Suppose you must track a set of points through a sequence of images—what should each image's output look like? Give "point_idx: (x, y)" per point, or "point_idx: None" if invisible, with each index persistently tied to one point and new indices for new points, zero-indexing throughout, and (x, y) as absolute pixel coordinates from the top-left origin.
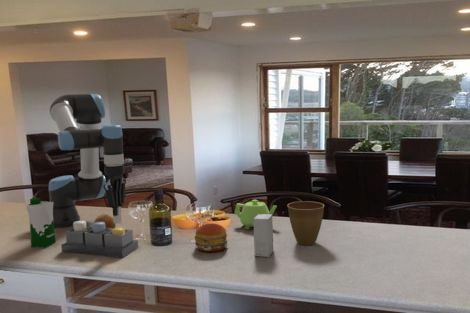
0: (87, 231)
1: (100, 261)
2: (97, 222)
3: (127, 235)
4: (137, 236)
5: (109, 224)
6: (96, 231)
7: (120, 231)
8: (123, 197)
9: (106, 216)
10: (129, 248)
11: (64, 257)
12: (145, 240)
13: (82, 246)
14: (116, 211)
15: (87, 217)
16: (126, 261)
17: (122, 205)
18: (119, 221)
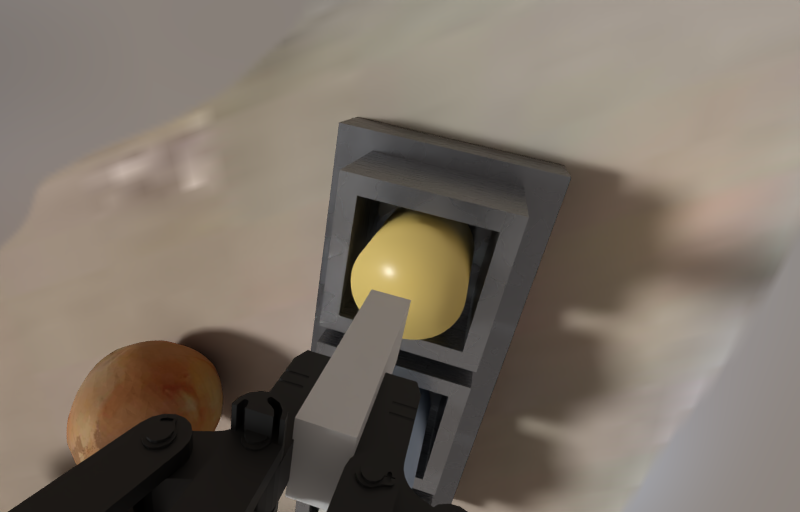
0: None
1: (618, 288)
2: None
3: (435, 186)
4: (165, 188)
5: (164, 384)
6: (422, 436)
7: (453, 255)
8: (68, 508)
9: (115, 437)
10: (467, 148)
11: (525, 473)
12: (220, 109)
13: (471, 438)
14: (396, 421)
15: (8, 483)
16: (649, 111)
17: (272, 405)
18: (407, 311)
